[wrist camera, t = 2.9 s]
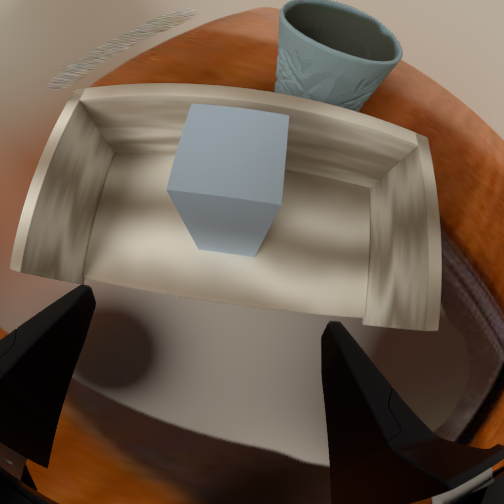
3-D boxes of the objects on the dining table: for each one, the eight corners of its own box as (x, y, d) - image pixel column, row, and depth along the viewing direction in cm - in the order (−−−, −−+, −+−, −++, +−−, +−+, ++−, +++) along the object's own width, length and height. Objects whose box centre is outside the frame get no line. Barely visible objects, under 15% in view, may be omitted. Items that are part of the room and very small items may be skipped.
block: (254, 257, 22) (281, 205, 10) (198, 249, 22) (166, 189, 10) (260, 205, 23) (289, 115, 11) (207, 197, 23) (191, 103, 11)
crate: (373, 325, 23) (437, 330, 14) (73, 282, 21) (9, 268, 12) (377, 182, 25) (427, 137, 16) (110, 145, 24) (74, 90, 15)
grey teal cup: (370, 126, 27) (422, 56, 15) (305, 162, 25) (351, 73, 13) (312, 70, 28) (339, -5, 16) (244, 95, 26) (254, 3, 14)
